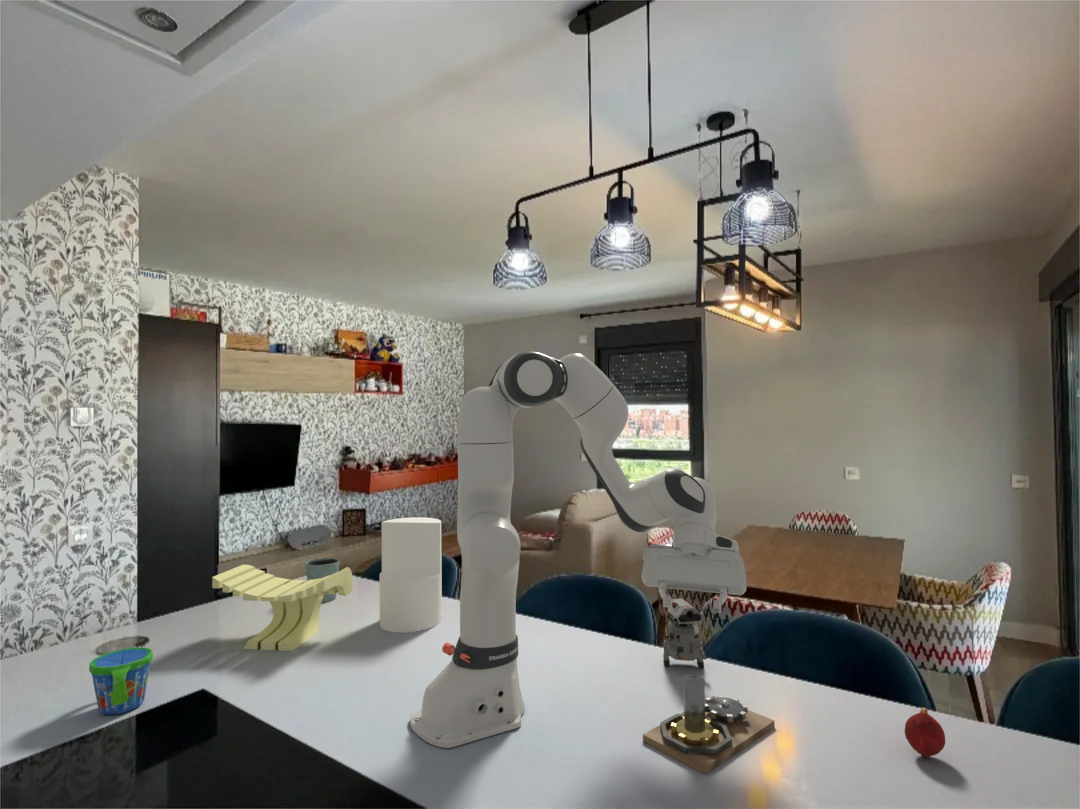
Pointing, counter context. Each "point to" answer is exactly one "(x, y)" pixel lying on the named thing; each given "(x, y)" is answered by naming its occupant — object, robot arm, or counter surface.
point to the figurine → (683, 634)
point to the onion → (924, 734)
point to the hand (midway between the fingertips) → (691, 608)
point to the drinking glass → (322, 572)
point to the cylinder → (411, 574)
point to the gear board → (716, 753)
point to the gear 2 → (725, 708)
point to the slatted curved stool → (284, 603)
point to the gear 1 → (694, 715)
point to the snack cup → (121, 679)
